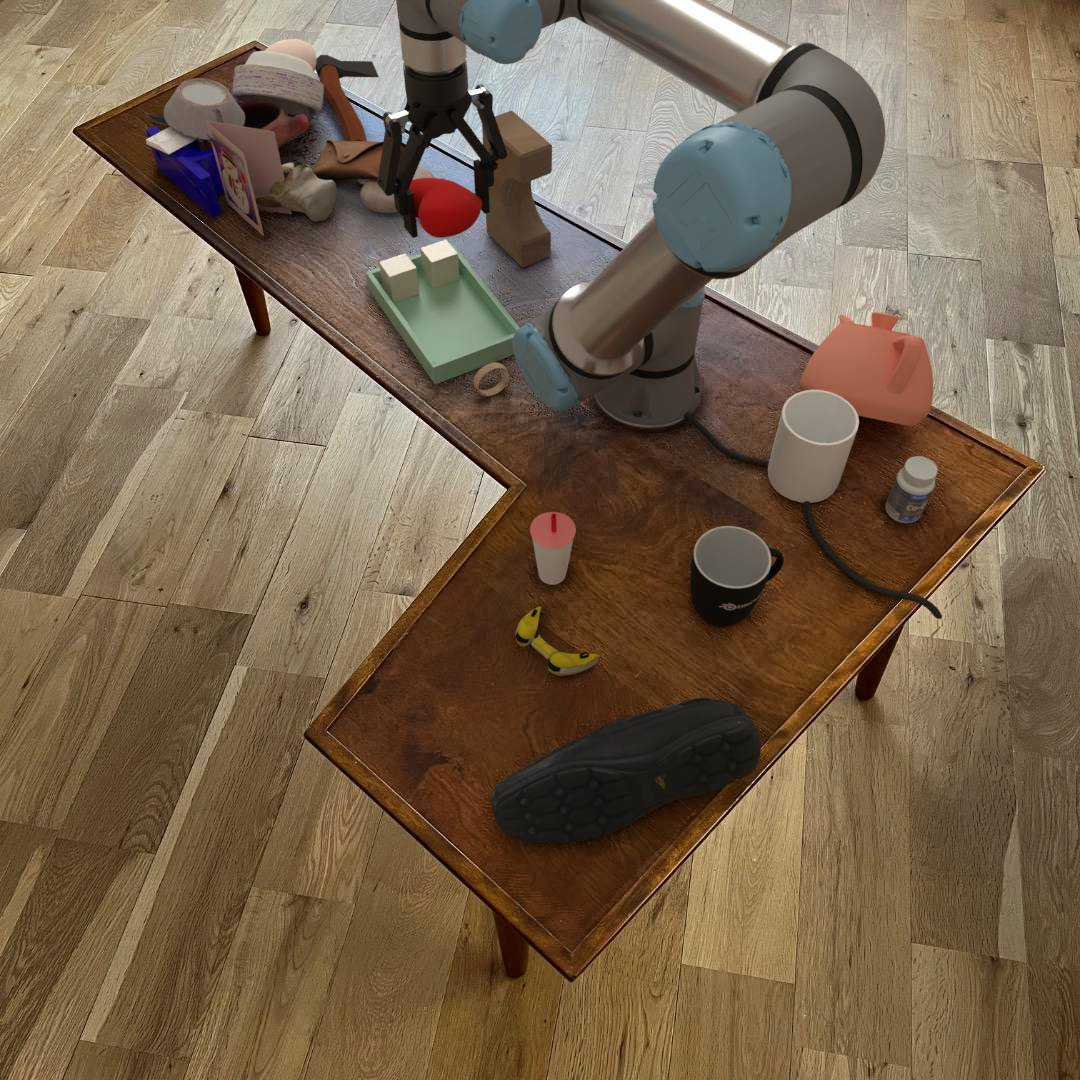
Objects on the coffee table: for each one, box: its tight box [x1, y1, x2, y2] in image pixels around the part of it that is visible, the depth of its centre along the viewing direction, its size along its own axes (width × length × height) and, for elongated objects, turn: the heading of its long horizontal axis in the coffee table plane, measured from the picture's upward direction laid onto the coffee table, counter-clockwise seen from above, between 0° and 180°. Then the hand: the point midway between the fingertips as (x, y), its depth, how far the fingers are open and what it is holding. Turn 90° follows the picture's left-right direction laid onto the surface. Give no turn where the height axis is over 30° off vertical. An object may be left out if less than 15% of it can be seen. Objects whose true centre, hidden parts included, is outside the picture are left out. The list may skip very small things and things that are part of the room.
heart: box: [409, 177, 482, 239], centre depth 143 cm, size 12×5×10 cm
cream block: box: [419, 239, 460, 289], centre depth 166 cm, size 4×4×5 cm
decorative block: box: [481, 110, 553, 269], centre depth 166 cm, size 11×6×20 cm, turn 32°
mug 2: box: [767, 390, 860, 504], centre depth 141 cm, size 10×12×12 cm
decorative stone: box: [359, 165, 436, 214], centre depth 178 cm, size 13×9×5 cm
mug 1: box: [689, 525, 785, 628], centre depth 129 cm, size 12×9×10 cm
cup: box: [529, 511, 577, 586], centre depth 131 cm, size 5×5×12 cm
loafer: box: [491, 697, 762, 844], centre depth 116 cm, size 10×29×10 cm
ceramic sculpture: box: [253, 160, 337, 222], centre depth 177 cm, size 11×9×15 cm
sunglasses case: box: [311, 139, 406, 180], centre depth 181 cm, size 18×7×7 cm
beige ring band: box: [473, 361, 511, 397], centre depth 152 cm, size 3×5×5 cm, turn 118°
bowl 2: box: [239, 102, 310, 149], centre depth 186 cm, size 16×13×8 cm
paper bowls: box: [231, 50, 324, 117], centre depth 189 cm, size 15×15×8 cm
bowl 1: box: [162, 77, 245, 141], centre depth 179 cm, size 13×13×5 cm
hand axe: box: [315, 54, 380, 141], centre depth 197 cm, size 12×3×30 cm
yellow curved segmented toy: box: [514, 605, 601, 677], centre depth 127 cm, size 10×6×4 cm, turn 45°
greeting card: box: [206, 121, 293, 237], centre depth 173 cm, size 11×7×15 cm, turn 40°
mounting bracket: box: [145, 125, 225, 219], centre depth 181 cm, size 18×7×6 cm
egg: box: [264, 38, 317, 73], centre depth 198 cm, size 9×9×12 cm
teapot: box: [799, 311, 934, 427], centre depth 145 cm, size 25×17×13 cm
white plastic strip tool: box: [145, 126, 195, 154], centre depth 180 cm, size 5×15×1 cm, turn 146°
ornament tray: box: [365, 242, 521, 385], centre depth 162 cm, size 24×15×3 cm, turn 29°
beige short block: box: [378, 252, 419, 303], centre depth 164 cm, size 4×4×5 cm
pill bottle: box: [884, 455, 939, 524], centre depth 138 cm, size 5×5×8 cm
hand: (447, 219), depth 145 cm, fingers closed on heart, 10 cm apart
